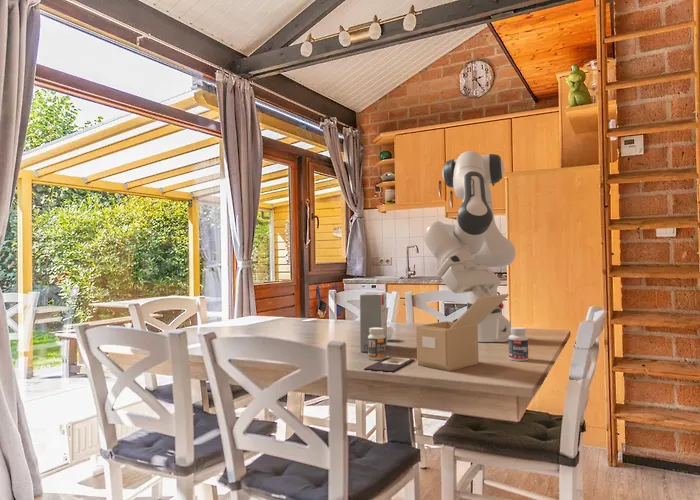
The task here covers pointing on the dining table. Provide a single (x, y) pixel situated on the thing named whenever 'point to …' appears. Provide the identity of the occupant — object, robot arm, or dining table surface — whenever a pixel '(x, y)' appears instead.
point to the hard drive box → (372, 316)
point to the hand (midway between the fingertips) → (489, 300)
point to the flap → (479, 310)
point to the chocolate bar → (389, 364)
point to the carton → (447, 346)
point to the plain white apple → (389, 332)
